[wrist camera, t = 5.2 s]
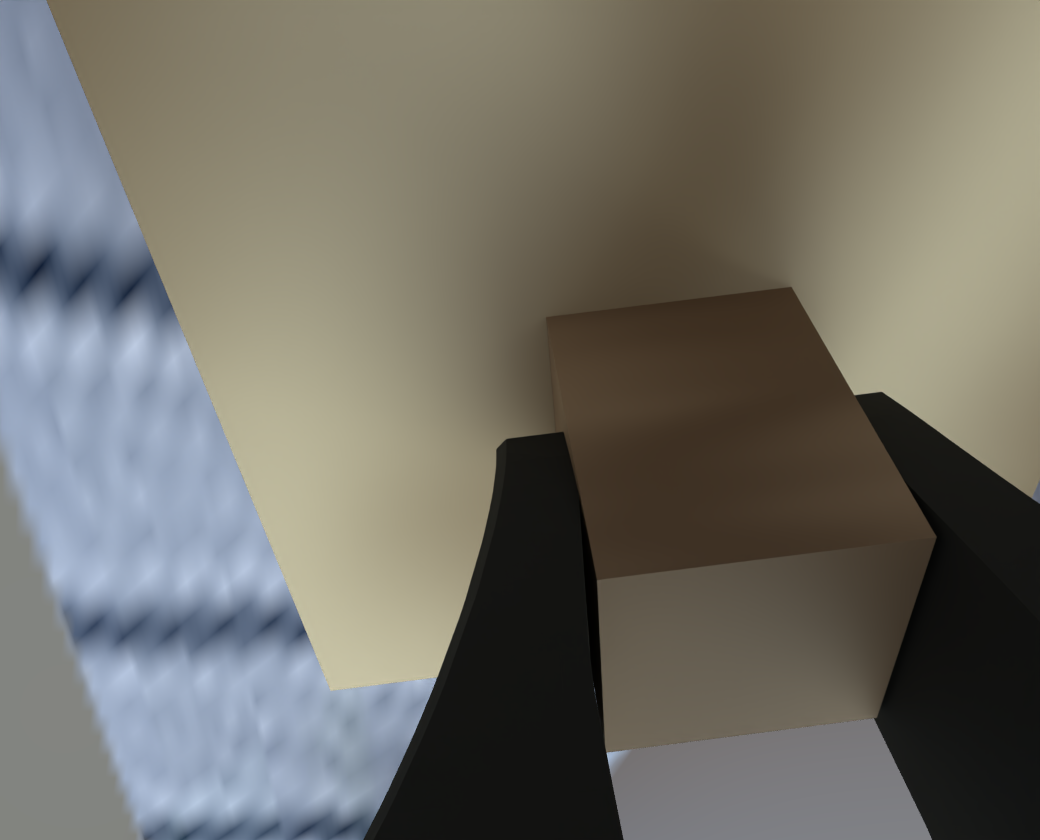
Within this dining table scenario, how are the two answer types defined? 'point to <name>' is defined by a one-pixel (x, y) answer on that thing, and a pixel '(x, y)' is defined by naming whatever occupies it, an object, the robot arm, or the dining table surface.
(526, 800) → the robot arm
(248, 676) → the dining table surface
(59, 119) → the dining table surface
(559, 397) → the lid
